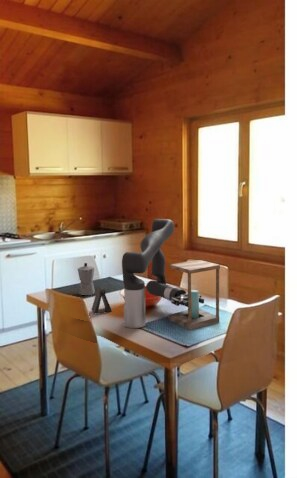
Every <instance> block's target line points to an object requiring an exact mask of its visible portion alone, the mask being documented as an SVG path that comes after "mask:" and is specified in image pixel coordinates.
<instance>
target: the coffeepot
mask: <svg viewBox="0 0 297 478" xmlns="http://www.w3.org/2000/svg"><path fill="white" fill-rule="evenodd" d="M77 271H78V272H77V273H78V277H79V278H78V279H79V280H80V283H79V290H78V295H79V294H81V295H91V296H93V295H92V294H94V293H95V294H96V290H95V285H94V282H93V280H94V274H95V273H94V272H95V267H94V266H89V265H88V263H87V262H85V263H84V264H83V266H79V267H78V268H77ZM95 294H94V295H95ZM81 295H80V296H81Z"/></svg>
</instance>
